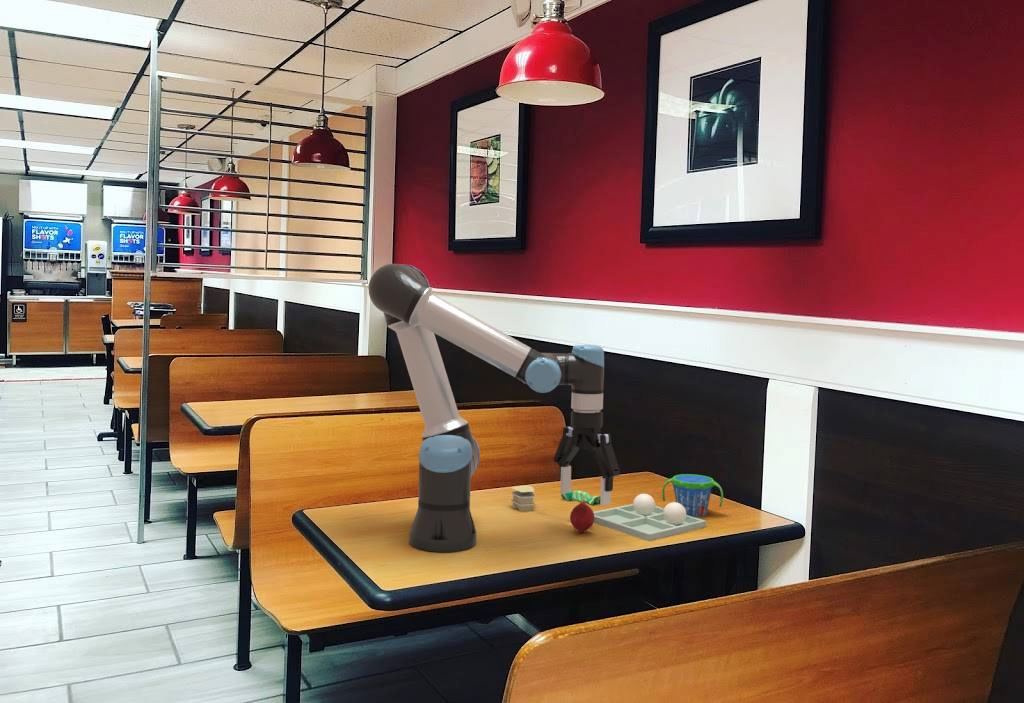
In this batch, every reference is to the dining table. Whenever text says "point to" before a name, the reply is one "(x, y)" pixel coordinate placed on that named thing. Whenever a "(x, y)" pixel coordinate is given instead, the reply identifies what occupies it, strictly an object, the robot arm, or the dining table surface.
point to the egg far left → (644, 504)
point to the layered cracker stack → (523, 498)
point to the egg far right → (674, 513)
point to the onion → (582, 517)
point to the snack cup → (693, 493)
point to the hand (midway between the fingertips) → (585, 498)
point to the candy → (581, 497)
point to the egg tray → (644, 522)
